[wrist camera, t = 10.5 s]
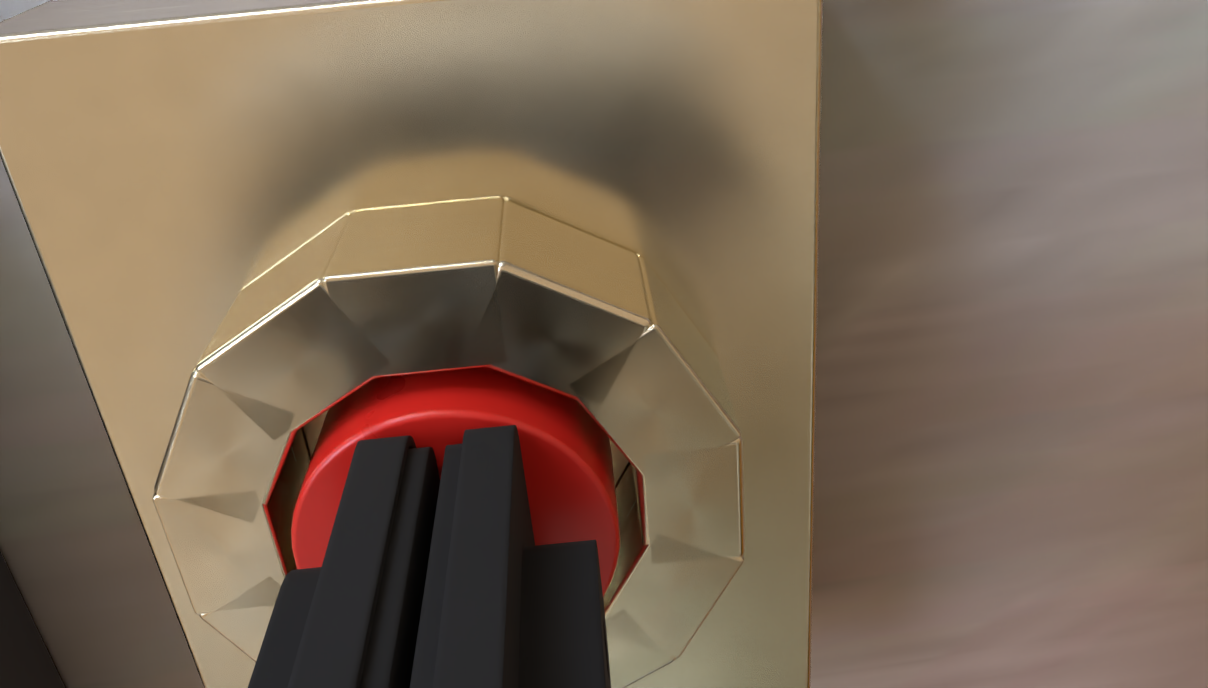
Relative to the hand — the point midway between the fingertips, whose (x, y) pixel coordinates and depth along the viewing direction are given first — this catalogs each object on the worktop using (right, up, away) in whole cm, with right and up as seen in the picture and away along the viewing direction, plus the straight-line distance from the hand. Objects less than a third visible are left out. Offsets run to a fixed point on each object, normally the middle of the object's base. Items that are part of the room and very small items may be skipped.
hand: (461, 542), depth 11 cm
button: (0, +1, +2) cm, 2 cm away
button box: (0, +2, +4) cm, 4 cm away
